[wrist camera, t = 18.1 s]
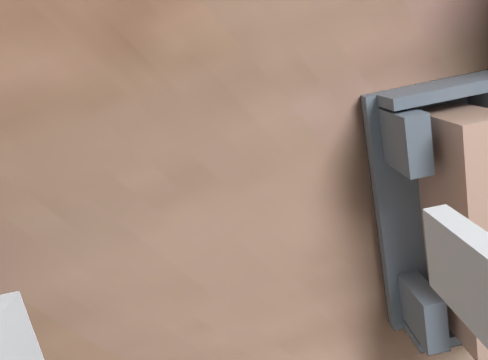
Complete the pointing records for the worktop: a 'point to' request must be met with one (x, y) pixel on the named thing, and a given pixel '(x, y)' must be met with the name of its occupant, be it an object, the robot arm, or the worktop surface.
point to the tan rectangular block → (459, 182)
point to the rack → (410, 198)
